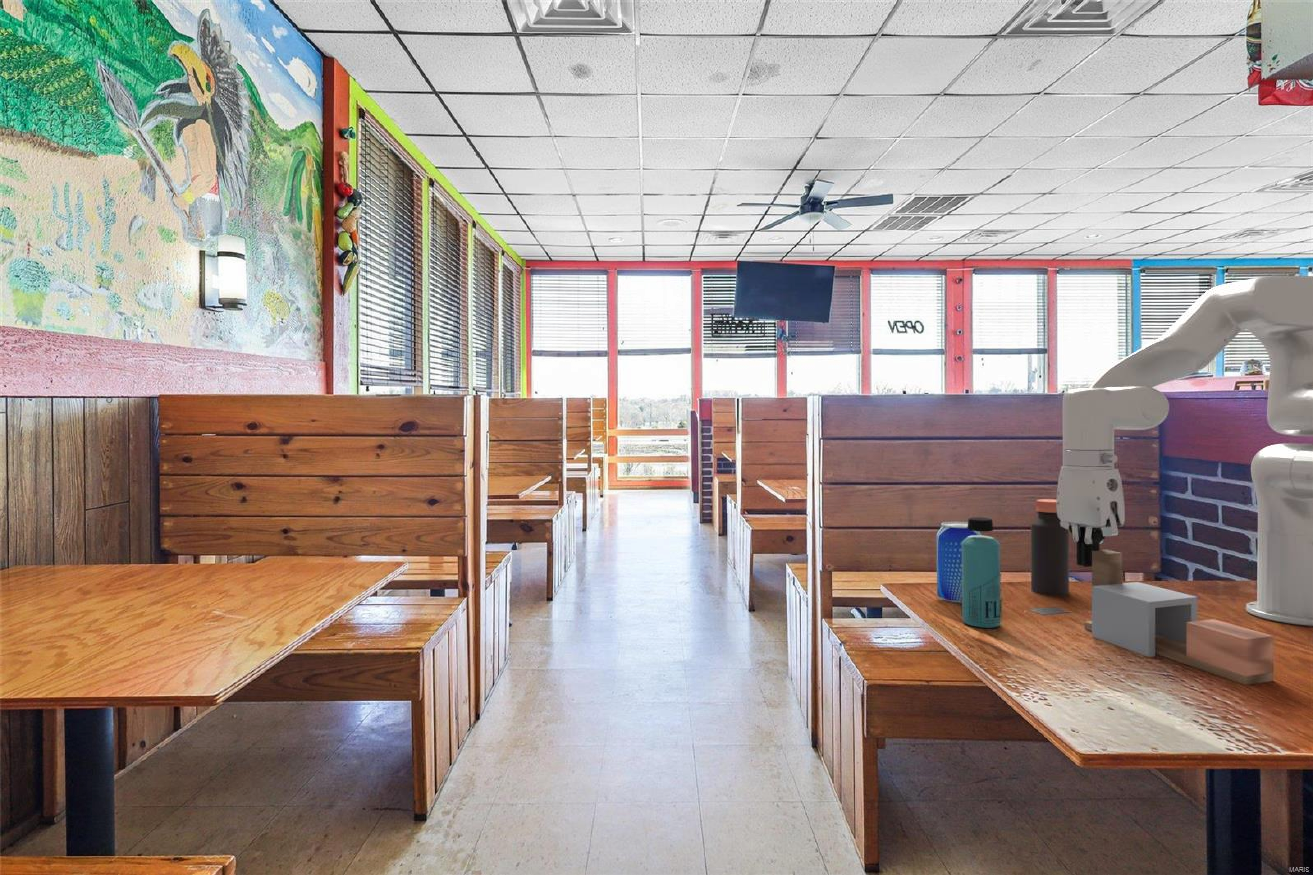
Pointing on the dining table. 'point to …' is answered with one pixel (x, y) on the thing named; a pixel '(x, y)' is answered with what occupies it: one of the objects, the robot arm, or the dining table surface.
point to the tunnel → (1140, 615)
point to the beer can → (951, 559)
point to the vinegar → (1049, 551)
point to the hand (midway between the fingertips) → (1088, 565)
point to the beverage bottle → (981, 576)
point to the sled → (1203, 637)
